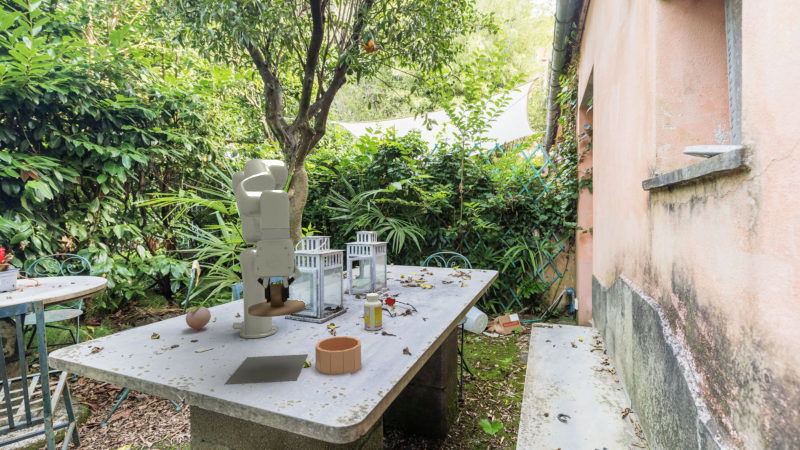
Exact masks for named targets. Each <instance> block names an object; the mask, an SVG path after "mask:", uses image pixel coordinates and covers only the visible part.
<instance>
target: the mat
mask: <svg viewBox="0 0 800 450" xmlns="http://www.w3.org/2000/svg"><path fill="white" fill-rule="evenodd" d="M308 357H309V354H308V353H307V354H288V355H284V354H283V355H263V356H247V357H246V358H245V359H244V360H243V362H242V363H241V364H240V365H239V366H238V367H237V369H235V371H233V373H232V374H231V376H229V378H228V379H227V380H226V381H225V382H224V383H223V385H228V386H229V385H240V384H241V385H242V384H243V385H244V384H245V385H246V384H260V383H261V384H262V383H263V384H264V383H280V382H281V383H282V382H297V381H298V379H299V377H300V375H301V372H302V369H303V368H304V365H305V363H306V361H307V358H308Z"/></svg>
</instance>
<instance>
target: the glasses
mask: <svg viewBox="0 0 800 450" xmlns="http://www.w3.org/2000/svg"><path fill="white" fill-rule="evenodd" d="M378 300H379V301H381V303H382V307H383V306H384V303H383V300H384V302H385V305H386V306H389V307H390V306H391V305H393V306H394V305H395V304H396V303H399V304H403V305H406V306H411V307H412V308H413V310H414V311H415V312H416V313H418V310H417V309H416V307H414V306H413V305H412V304H409V303H405V302H401V301H398V300H396V298H394V297H391V296H389V297H388V296H387V297H384V298H378ZM391 307H392V306H391ZM382 311H387V313H388V315H390V317H391V318H392V319H393V318H394V316H393V315H392V313H391V312H390V311H389V310H388V309H385V308H382Z"/></svg>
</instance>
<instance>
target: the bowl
mask: <svg viewBox="0 0 800 450" xmlns="http://www.w3.org/2000/svg"><path fill="white" fill-rule="evenodd" d="M314 351H315V369H316V370H317V371H319V372H320V373H323V374H328V375H342V374H343V375H344V374H347V373H350V375H352V374H355V373H356V372H358V371H359V370H361V368H362V341H361V339H359V338H357V337H353V336H343V335H342V336H332V337H328V338H324V339H321V340H319V341H317V342H316V344H315V350H314Z"/></svg>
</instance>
